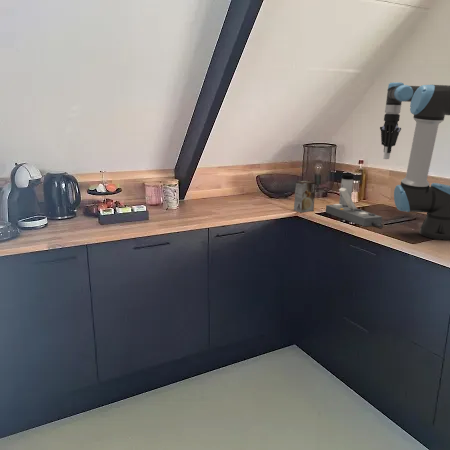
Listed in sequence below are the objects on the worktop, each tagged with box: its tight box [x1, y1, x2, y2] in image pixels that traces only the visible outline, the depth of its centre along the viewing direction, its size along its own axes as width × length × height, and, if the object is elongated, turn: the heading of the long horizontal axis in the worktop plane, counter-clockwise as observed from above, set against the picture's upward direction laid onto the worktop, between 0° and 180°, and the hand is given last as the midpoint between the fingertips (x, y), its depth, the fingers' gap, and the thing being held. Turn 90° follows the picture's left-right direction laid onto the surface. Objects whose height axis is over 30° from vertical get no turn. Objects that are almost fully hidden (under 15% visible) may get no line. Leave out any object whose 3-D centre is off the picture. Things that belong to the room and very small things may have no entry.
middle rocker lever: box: [338, 187, 358, 211], centre depth 215 cm, size 4×2×14 cm
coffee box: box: [293, 180, 316, 213], centre depth 230 cm, size 9×6×16 cm
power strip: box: [325, 203, 384, 229], centre depth 216 cm, size 36×11×5 cm, turn 24°
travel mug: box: [338, 171, 355, 205], centre depth 241 cm, size 6×7×20 cm
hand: (386, 158), depth 227 cm, fingers closed
